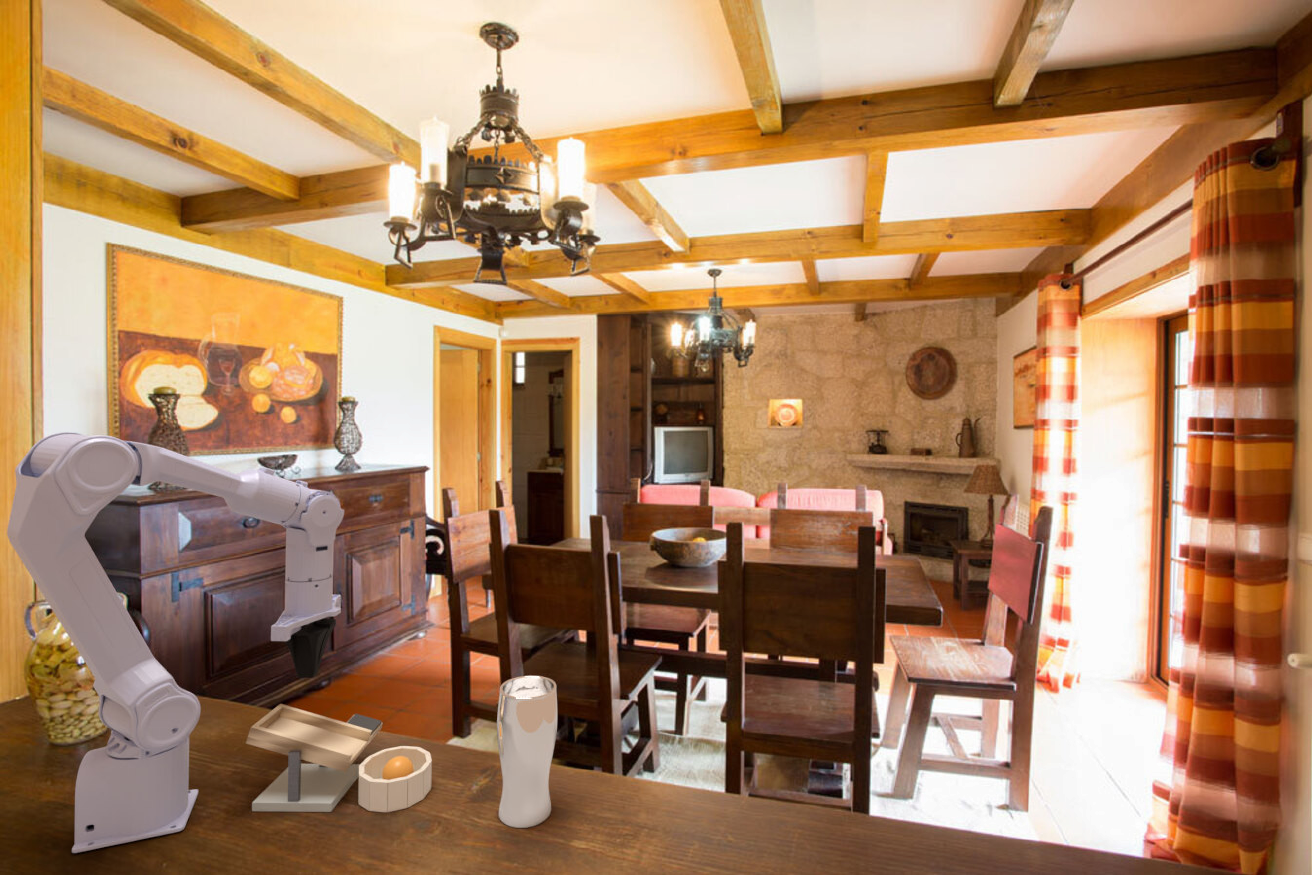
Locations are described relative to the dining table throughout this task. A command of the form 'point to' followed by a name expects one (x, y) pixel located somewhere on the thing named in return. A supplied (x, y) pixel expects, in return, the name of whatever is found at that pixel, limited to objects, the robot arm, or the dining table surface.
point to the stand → (306, 787)
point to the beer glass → (526, 748)
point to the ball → (397, 768)
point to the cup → (394, 780)
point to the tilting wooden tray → (314, 736)
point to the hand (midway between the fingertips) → (307, 675)
